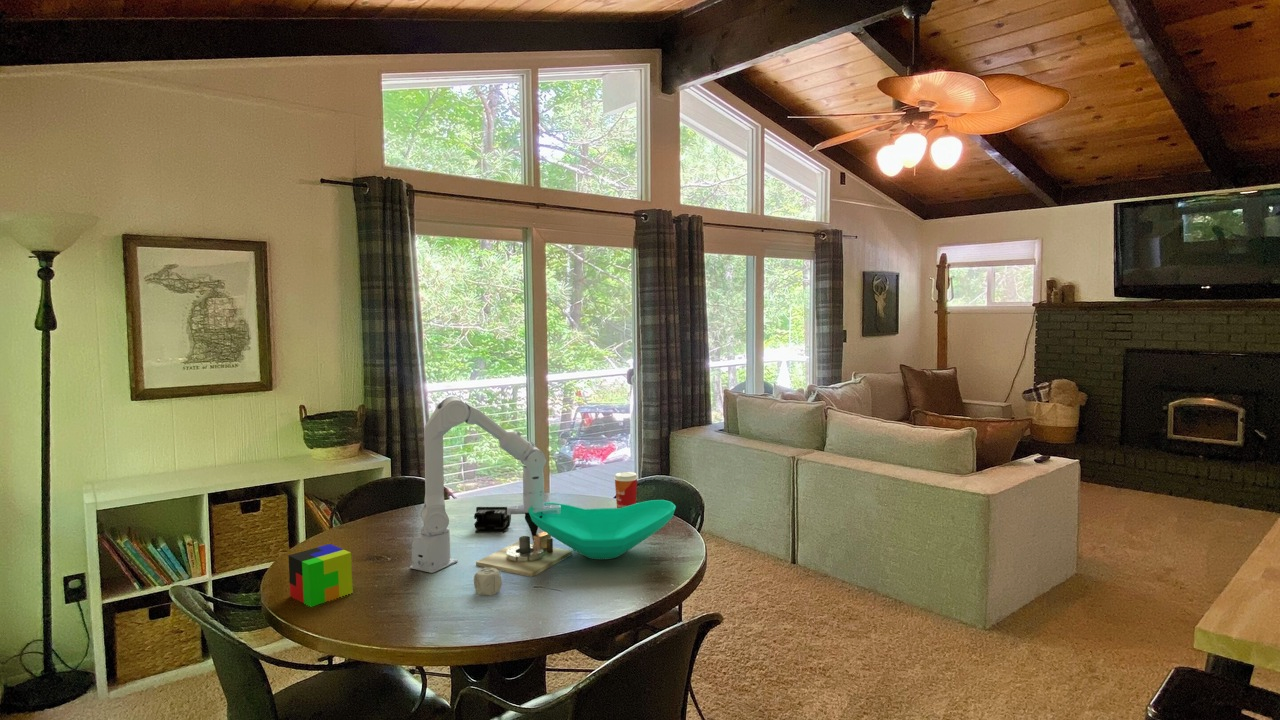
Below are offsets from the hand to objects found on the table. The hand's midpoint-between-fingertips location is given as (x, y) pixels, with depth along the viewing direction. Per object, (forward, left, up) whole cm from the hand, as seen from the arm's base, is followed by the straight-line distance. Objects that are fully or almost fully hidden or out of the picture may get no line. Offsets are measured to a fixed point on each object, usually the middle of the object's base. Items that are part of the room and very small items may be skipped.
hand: (534, 539), depth 195 cm
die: (-28, -7, -3) cm, 29 cm away
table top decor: (+5, -19, -3) cm, 20 cm away
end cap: (+10, +23, -4) cm, 25 cm away
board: (-7, -2, -3) cm, 8 cm away
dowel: (-1, -6, -3) cm, 7 cm away
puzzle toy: (-47, +27, -4) cm, 54 cm away
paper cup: (+38, -8, -3) cm, 39 cm away
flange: (-5, -2, -2) cm, 6 cm away
